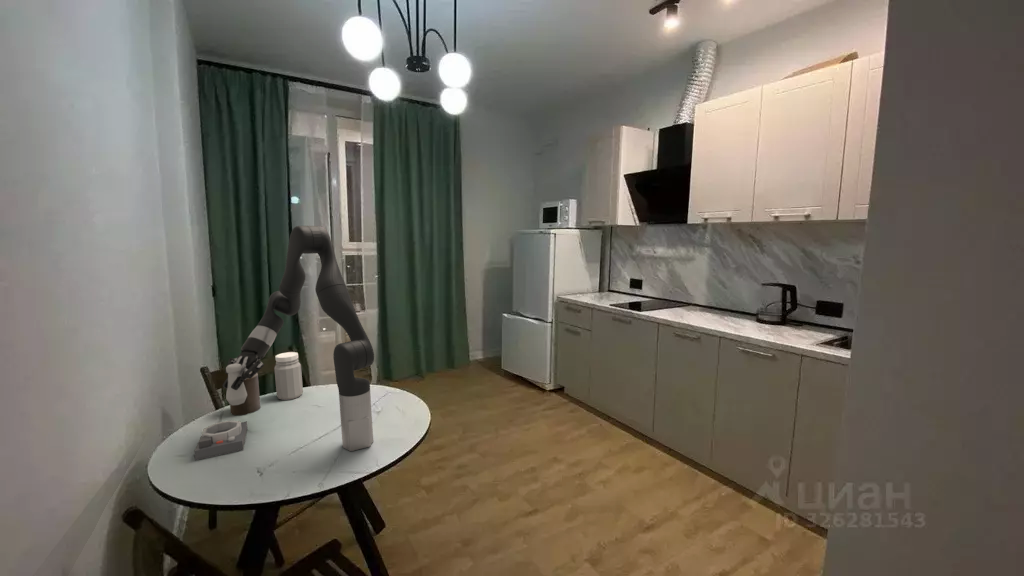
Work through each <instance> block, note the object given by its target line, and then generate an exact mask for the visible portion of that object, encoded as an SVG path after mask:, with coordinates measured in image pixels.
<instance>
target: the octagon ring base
mask: <svg viewBox="0 0 1024 576" xmlns="http://www.w3.org/2000/svg"><path fill="white" fill-rule="evenodd" d="M248 428H249V427H248V421H240V420H234V419H233V420H232V419H231V420H224V421H219V422H217V423H216V422H215V423H213V424H211V425H208V426H207V427H205V428H203V429H202V431H201V435H200V437H199V439H198V442H197V443H196V447H195V448H194V451H193V454H194V460H195V461H199V459H200V460H203V459H207V458H208V459H210V458H212V457H218V456H221V455H222V456H223V455H226V454H230V453H236V452H240V451H244V448H245V444H246V439H247V434H248V431H249V430H248Z"/></svg>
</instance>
